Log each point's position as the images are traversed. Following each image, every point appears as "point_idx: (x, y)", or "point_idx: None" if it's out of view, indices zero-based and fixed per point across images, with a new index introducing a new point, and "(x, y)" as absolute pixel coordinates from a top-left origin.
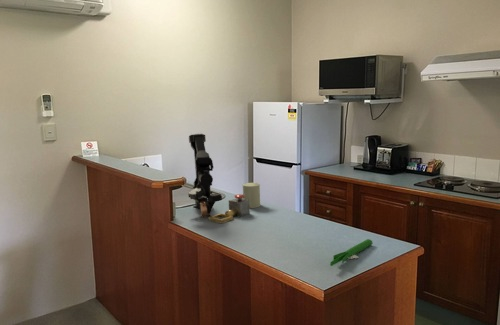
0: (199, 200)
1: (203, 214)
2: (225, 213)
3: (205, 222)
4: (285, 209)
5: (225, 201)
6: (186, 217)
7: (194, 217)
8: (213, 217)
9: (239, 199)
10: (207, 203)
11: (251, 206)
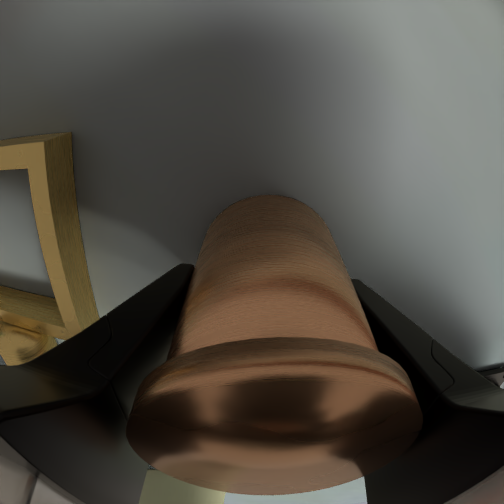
0: (454, 448)
1: (249, 213)
2: (34, 338)
3: (50, 46)
4: None
5: (357, 480)
6: (463, 80)
7: (372, 120)
8: (42, 201)
9: None
10: (15, 375)
11: (148, 475)
